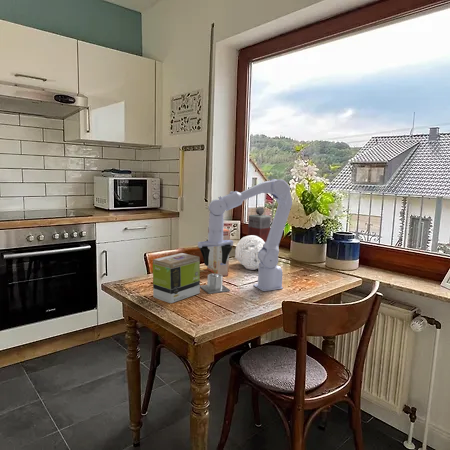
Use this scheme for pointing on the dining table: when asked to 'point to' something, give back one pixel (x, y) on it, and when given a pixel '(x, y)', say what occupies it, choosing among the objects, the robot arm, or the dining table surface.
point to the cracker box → (218, 257)
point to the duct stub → (224, 289)
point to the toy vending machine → (259, 224)
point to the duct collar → (214, 282)
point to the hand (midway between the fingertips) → (215, 264)
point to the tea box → (176, 277)
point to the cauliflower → (249, 251)
